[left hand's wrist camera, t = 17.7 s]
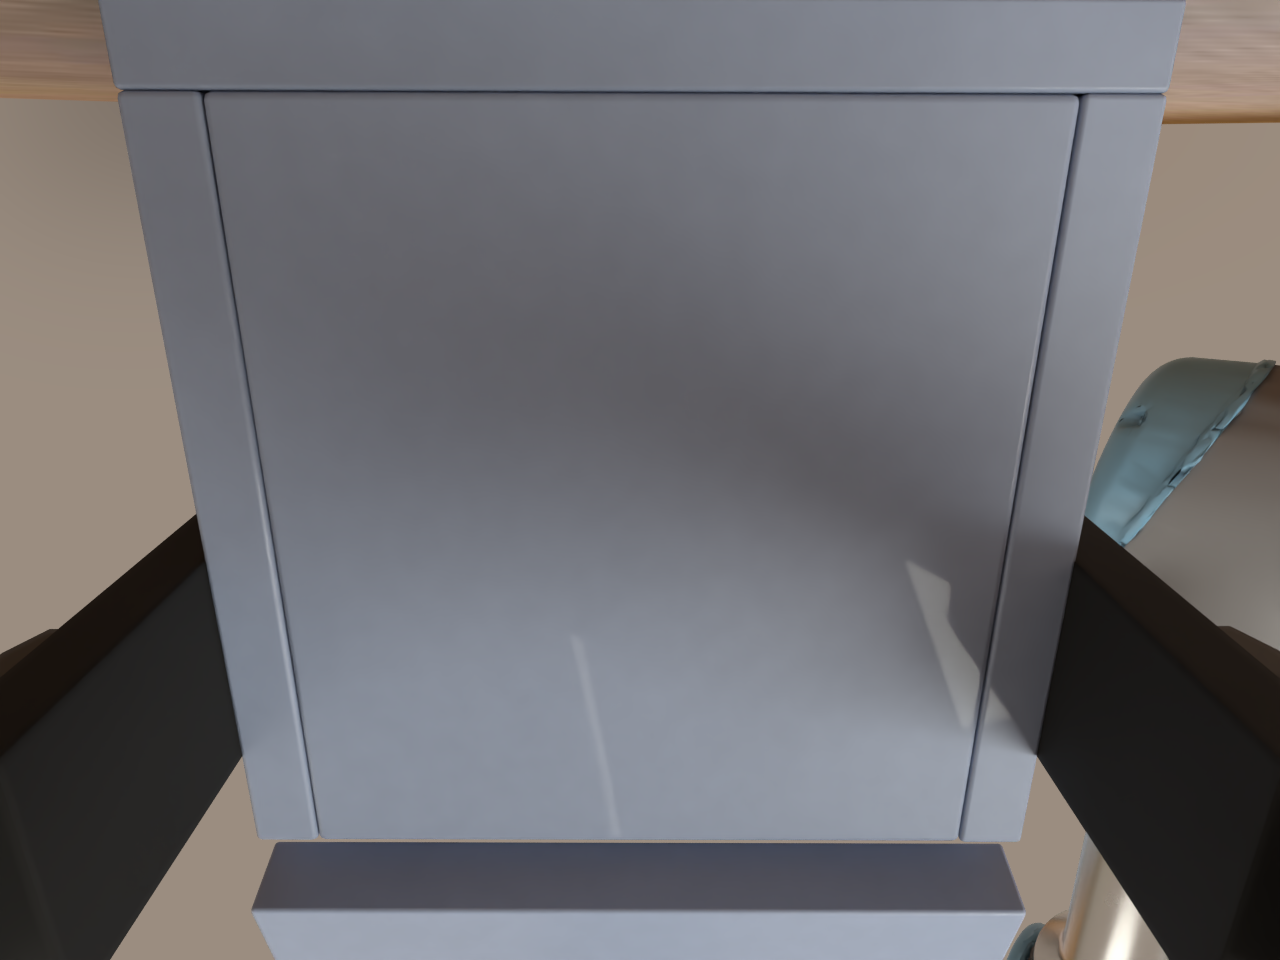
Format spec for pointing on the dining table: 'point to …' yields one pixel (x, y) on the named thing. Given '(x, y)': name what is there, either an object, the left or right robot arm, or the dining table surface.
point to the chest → (641, 395)
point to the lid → (637, 901)
